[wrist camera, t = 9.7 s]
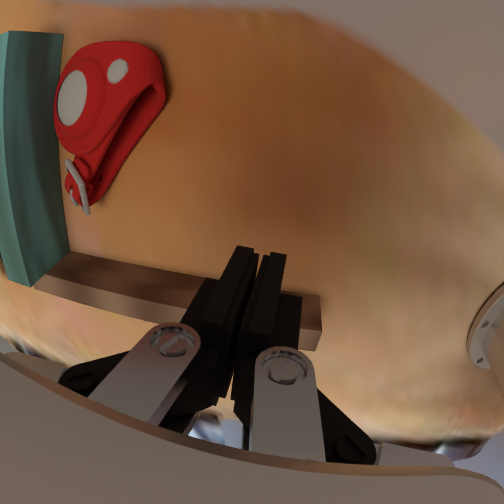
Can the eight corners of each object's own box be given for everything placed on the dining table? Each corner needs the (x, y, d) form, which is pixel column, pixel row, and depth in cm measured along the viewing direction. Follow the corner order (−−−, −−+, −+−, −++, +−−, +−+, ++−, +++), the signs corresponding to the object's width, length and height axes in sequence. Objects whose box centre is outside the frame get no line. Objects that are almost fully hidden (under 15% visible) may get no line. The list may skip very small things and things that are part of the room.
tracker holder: (37, 76, 17) (119, 3, 12) (79, 79, 20) (165, 21, 16) (56, 224, 19) (147, 196, 15) (99, 212, 23) (195, 185, 19)
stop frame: (372, 37, 14) (404, 16, 9) (313, 315, 25) (315, 372, 19) (38, 41, 16) (-15, 42, 10) (51, 264, 26) (15, 298, 21)
